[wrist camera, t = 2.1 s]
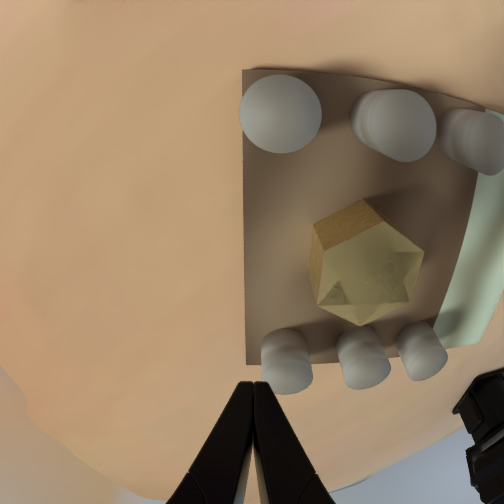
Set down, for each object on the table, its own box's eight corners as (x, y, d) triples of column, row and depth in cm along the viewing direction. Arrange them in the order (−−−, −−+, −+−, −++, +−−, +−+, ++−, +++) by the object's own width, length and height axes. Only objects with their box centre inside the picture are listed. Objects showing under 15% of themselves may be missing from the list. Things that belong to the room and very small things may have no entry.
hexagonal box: (404, 201, 15) (431, 223, 12) (385, 291, 17) (402, 323, 15) (314, 196, 15) (327, 219, 12) (305, 293, 18) (313, 328, 15)
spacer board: (536, 129, 13) (573, 142, 9) (475, 337, 21) (494, 366, 18) (243, 71, 13) (238, 61, 9) (246, 356, 21) (244, 399, 18)
